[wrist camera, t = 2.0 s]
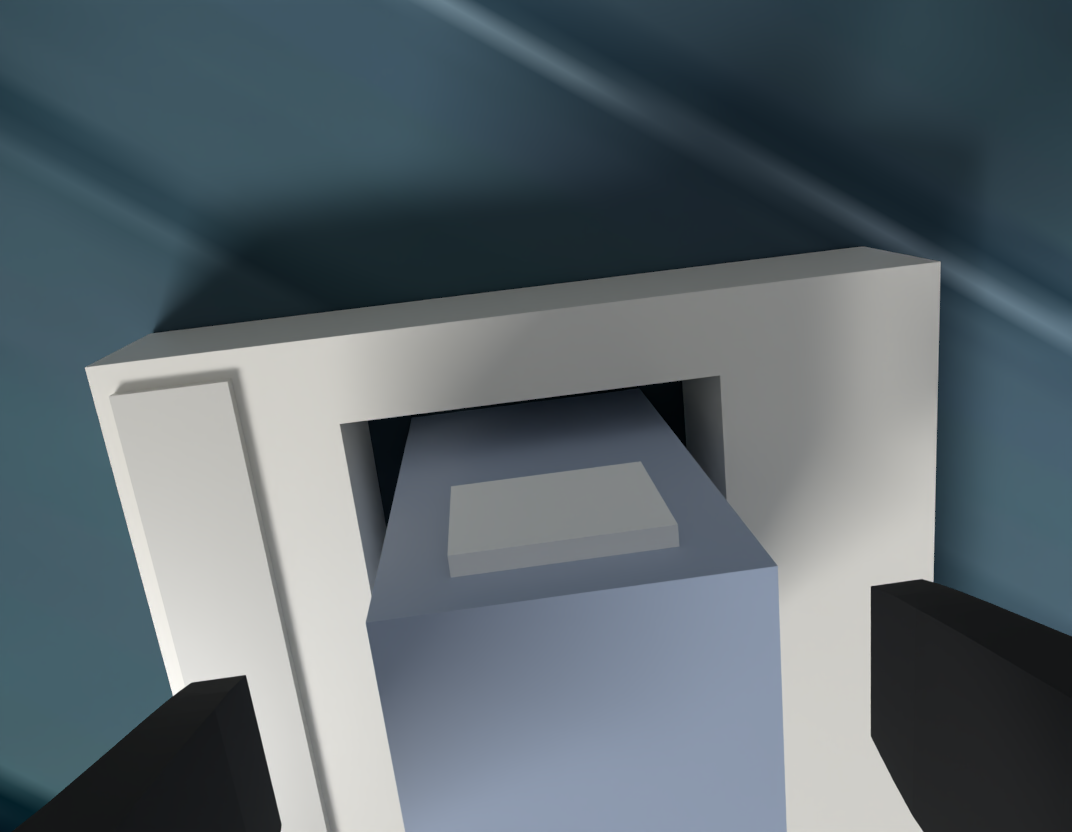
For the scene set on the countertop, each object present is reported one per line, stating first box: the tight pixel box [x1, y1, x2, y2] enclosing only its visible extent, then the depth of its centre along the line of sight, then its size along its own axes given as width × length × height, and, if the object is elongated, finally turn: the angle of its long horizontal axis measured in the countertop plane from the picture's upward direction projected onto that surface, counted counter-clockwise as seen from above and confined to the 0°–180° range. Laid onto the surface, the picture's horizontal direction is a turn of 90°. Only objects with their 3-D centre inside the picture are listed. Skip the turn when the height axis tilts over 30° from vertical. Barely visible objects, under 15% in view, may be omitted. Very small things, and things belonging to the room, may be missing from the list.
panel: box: [85, 246, 941, 832], centre depth 16 cm, size 12×18×3 cm, turn 6°
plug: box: [366, 389, 787, 832], centre depth 12 cm, size 4×4×7 cm
